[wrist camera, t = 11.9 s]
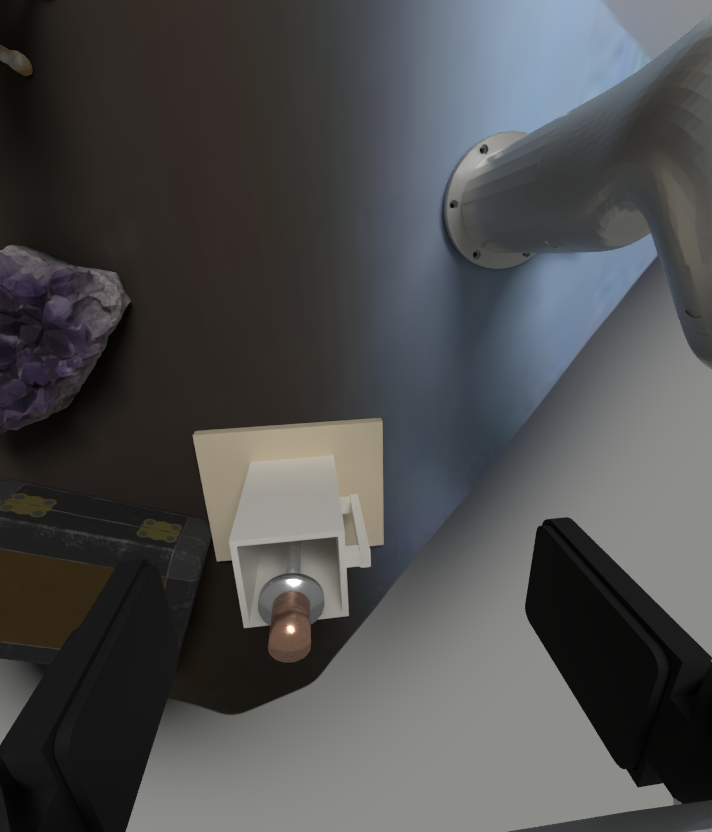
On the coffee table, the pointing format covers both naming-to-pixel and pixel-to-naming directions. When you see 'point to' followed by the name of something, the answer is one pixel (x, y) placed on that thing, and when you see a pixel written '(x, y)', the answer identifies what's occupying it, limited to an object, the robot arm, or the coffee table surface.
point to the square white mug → (294, 503)
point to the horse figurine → (16, 61)
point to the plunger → (291, 608)
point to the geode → (50, 331)
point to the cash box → (83, 562)
